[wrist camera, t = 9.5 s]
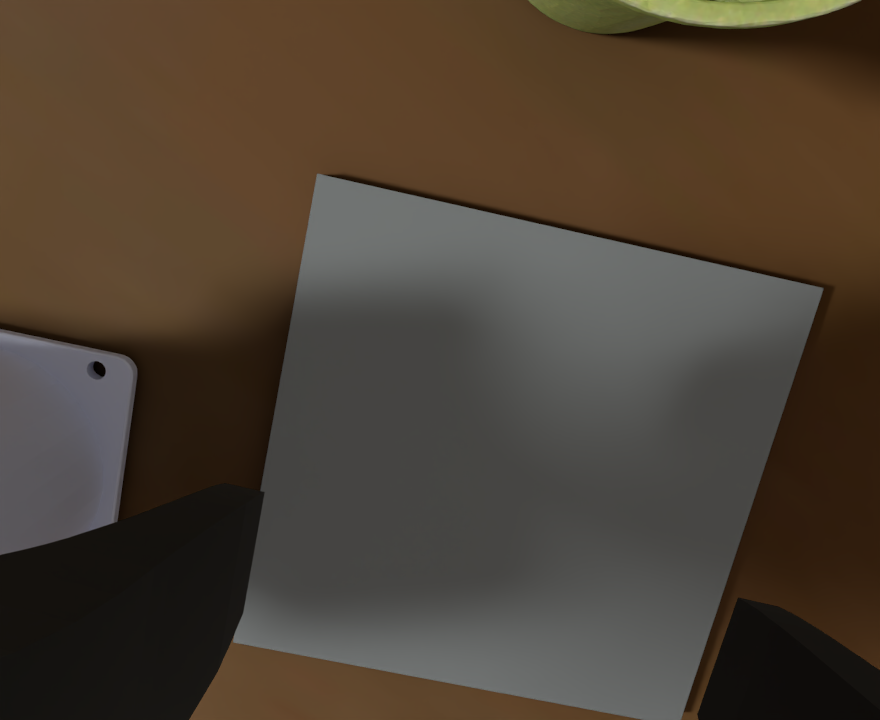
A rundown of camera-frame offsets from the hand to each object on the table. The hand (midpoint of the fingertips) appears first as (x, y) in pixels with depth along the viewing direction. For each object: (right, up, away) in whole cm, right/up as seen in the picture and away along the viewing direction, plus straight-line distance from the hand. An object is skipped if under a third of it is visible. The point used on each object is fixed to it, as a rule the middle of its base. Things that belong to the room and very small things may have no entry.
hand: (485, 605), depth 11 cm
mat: (+1, 0, +11) cm, 11 cm away
